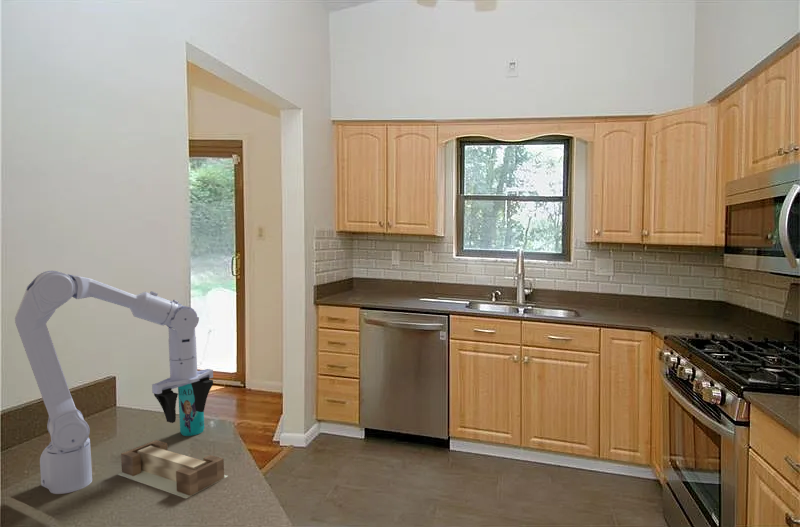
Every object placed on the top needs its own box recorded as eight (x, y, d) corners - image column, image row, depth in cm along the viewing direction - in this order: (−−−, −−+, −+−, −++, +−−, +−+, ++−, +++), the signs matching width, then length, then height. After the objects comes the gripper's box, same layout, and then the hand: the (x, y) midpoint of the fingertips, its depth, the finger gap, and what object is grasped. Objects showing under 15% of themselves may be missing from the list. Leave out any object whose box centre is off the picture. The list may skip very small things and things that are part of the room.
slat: (138, 469, 106) (137, 450, 106) (151, 463, 109) (150, 445, 109) (194, 487, 97) (193, 467, 97) (207, 481, 100) (206, 461, 100)
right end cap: (176, 491, 96) (175, 470, 96) (211, 474, 103) (210, 455, 103) (190, 495, 94) (189, 475, 94) (224, 478, 101) (223, 458, 101)
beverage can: (178, 441, 124) (175, 381, 123) (182, 433, 129) (179, 376, 129) (203, 438, 125) (200, 379, 125) (205, 430, 131) (203, 373, 130)
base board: (117, 478, 104) (117, 474, 104) (161, 460, 113) (160, 455, 113) (186, 503, 93) (185, 498, 93) (228, 480, 102) (228, 475, 102)
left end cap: (121, 472, 105) (120, 453, 105) (156, 457, 112) (155, 440, 112) (133, 476, 103) (132, 457, 103) (168, 460, 110) (167, 443, 110)
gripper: (165, 366, 105) (168, 429, 106) (220, 352, 118) (223, 409, 118) (145, 363, 109) (148, 424, 109) (201, 350, 121) (203, 405, 122)
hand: (185, 416), depth 114 cm, fingers open, 7 cm apart
